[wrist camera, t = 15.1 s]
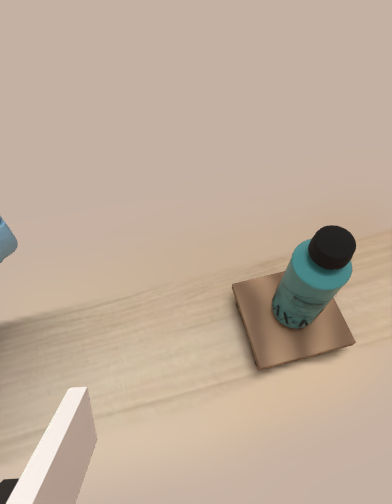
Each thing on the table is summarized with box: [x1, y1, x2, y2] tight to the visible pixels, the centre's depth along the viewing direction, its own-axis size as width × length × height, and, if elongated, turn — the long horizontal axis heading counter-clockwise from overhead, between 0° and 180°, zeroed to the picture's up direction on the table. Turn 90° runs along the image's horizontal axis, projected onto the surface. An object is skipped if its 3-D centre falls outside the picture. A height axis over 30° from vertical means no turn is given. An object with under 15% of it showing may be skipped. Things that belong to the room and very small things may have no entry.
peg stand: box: [232, 271, 356, 370], centre depth 50 cm, size 14×13×6 cm
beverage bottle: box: [271, 226, 356, 329], centre depth 39 cm, size 6×7×20 cm
